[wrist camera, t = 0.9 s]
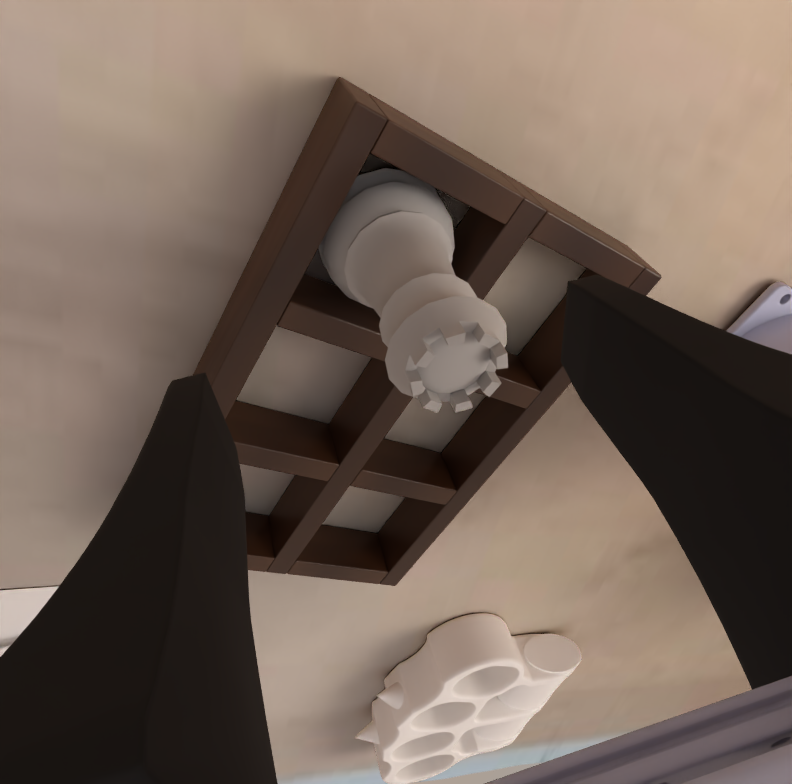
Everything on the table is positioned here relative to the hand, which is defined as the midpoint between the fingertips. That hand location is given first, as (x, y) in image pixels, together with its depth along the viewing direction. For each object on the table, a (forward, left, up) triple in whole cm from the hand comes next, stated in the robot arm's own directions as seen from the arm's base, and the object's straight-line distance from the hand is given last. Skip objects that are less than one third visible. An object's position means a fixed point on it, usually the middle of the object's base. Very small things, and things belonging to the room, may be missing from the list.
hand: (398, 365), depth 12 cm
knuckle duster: (-26, +29, -10) cm, 40 cm away
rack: (-6, +7, -10) cm, 13 cm away
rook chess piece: (-3, +1, -10) cm, 10 cm away
